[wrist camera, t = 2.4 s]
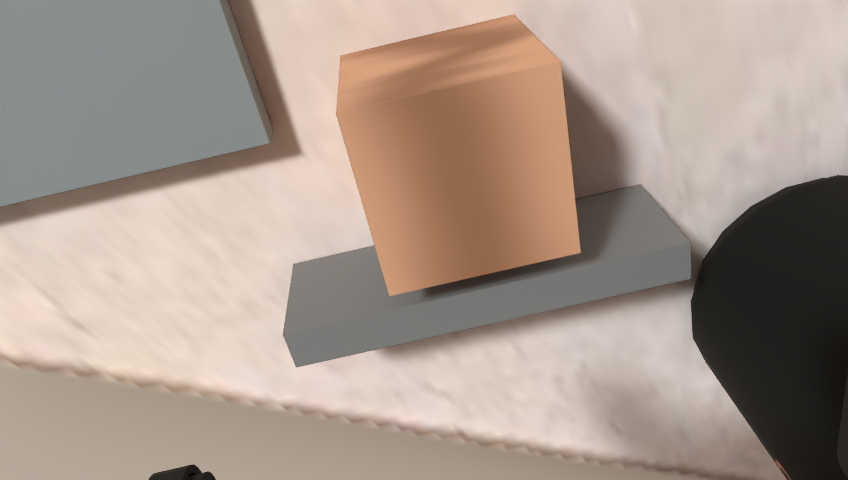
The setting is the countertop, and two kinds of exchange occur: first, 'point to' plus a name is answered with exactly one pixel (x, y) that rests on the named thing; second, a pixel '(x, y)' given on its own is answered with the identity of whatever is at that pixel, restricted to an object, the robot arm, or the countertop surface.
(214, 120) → the board
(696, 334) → the coffee jar
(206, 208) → the countertop surface
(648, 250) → the grey long block
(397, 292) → the lettered block
